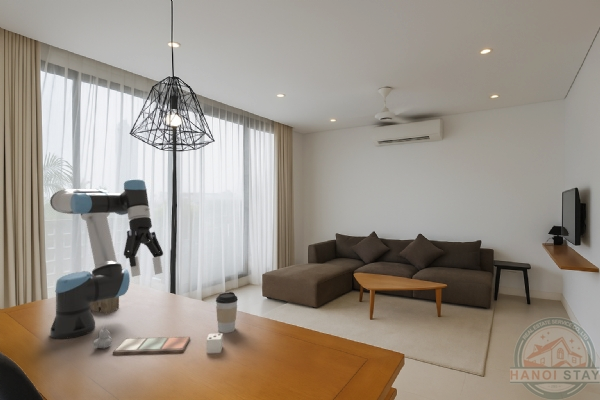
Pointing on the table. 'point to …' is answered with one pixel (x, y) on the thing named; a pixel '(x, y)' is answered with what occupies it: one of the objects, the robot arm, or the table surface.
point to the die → (214, 343)
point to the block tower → (105, 305)
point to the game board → (152, 345)
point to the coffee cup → (226, 312)
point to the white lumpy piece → (103, 339)
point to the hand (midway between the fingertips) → (148, 274)
